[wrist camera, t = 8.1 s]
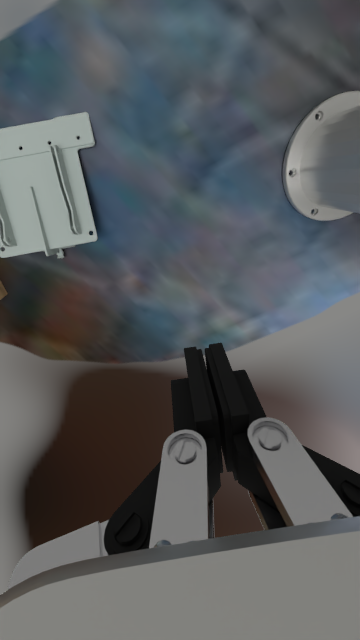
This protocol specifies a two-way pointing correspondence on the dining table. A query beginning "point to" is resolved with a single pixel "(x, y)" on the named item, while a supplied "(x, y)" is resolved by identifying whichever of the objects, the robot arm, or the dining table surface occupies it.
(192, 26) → the dining table surface
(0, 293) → the headboard
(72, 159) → the metal bracket
